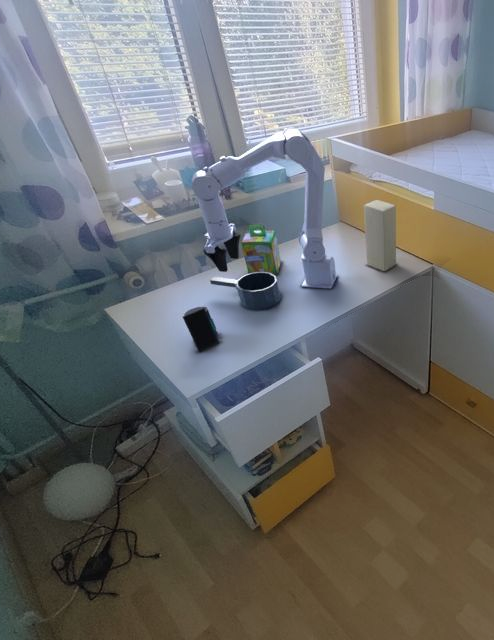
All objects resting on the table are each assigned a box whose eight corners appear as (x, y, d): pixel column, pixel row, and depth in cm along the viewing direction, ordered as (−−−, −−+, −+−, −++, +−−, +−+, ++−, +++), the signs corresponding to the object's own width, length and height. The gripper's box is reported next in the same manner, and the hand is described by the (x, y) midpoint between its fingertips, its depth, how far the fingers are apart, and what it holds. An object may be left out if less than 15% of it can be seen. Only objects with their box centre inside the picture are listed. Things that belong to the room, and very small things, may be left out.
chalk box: (248, 275, 138) (236, 232, 128) (254, 262, 145) (243, 220, 135) (278, 275, 139) (268, 232, 129) (282, 261, 146) (273, 220, 136)
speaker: (222, 345, 110) (208, 310, 104) (198, 352, 108) (182, 318, 102) (218, 331, 116) (204, 298, 110) (195, 338, 114) (180, 304, 107)
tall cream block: (398, 263, 148) (397, 204, 135) (385, 272, 143) (383, 211, 130) (380, 257, 151) (377, 198, 138) (366, 265, 146) (362, 205, 133)
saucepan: (286, 292, 131) (283, 274, 127) (269, 312, 123) (265, 293, 119) (226, 284, 133) (221, 266, 129) (206, 302, 125) (199, 284, 121)
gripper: (213, 208, 120) (226, 252, 128) (187, 229, 108) (203, 276, 117) (237, 209, 119) (249, 253, 128) (214, 231, 108) (228, 277, 117)
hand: (229, 264), depth 123 cm, fingers open, 7 cm apart
